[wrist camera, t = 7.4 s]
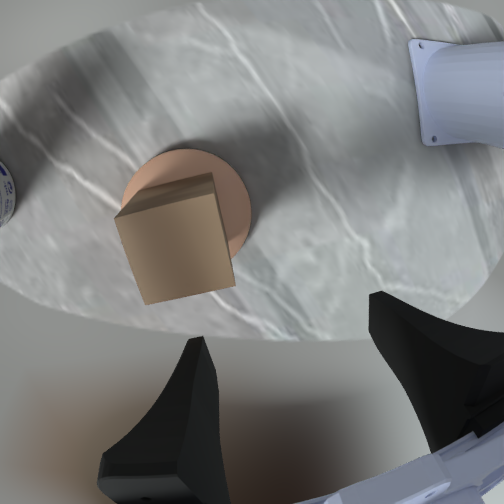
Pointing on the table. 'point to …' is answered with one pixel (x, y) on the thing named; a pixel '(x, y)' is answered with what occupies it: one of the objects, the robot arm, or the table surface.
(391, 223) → the table surface
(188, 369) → the robot arm
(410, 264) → the table surface
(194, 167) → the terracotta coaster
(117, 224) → the walnut block
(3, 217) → the energy drink
